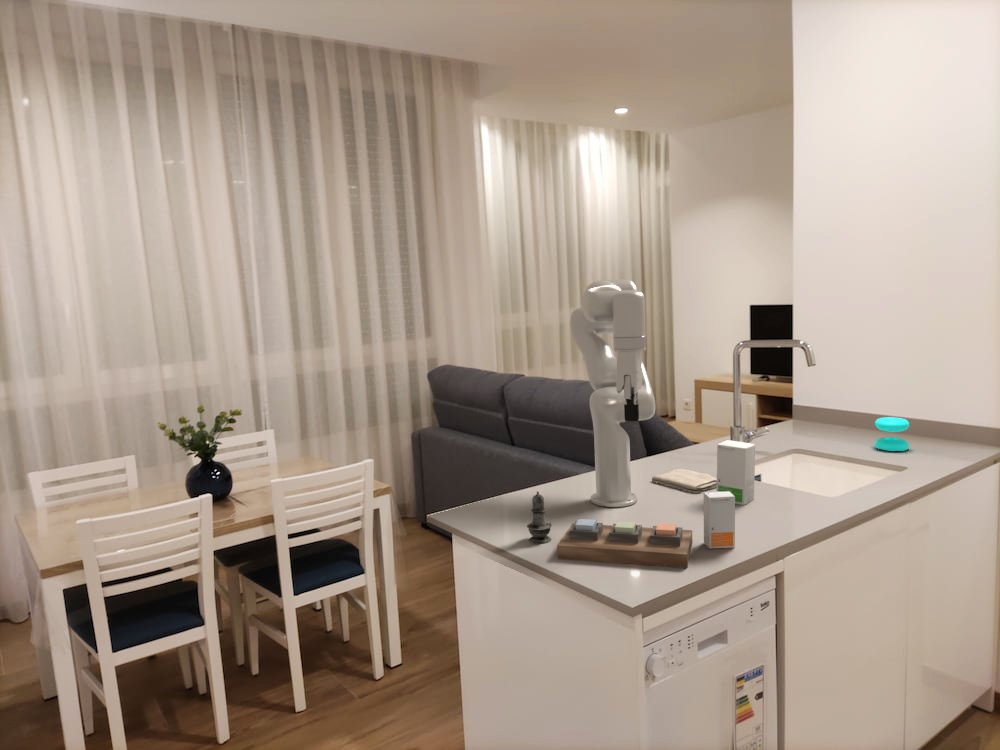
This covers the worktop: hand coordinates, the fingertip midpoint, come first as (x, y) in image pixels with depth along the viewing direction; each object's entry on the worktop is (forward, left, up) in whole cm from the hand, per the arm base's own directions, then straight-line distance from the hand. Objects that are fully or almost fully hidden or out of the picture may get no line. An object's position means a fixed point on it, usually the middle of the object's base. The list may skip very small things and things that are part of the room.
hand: (631, 420), depth 175 cm
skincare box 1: (+7, +20, -27) cm, 35 cm away
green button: (+14, 0, -24) cm, 27 cm away
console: (+14, 0, -27) cm, 31 cm away
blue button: (+14, -9, -24) cm, 29 cm away
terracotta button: (+14, +9, -24) cm, 29 cm away
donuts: (-92, +71, -27) cm, 119 cm away
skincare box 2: (-28, +23, -27) cm, 45 cm away
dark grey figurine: (+11, -21, -27) cm, 36 cm away
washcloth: (-42, +9, -28) cm, 51 cm away
